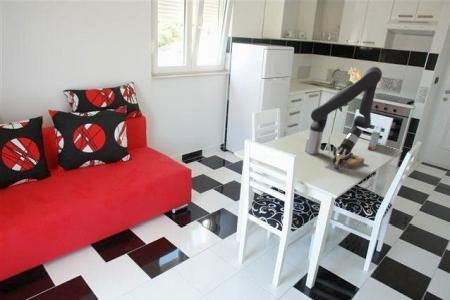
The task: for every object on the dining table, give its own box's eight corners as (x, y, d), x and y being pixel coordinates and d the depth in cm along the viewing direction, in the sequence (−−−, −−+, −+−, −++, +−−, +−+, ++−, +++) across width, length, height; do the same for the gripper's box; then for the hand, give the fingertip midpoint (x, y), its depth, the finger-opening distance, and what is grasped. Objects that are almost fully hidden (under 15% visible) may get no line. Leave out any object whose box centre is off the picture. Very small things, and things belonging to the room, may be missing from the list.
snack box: (374, 151, 244) (379, 132, 238) (367, 149, 246) (371, 131, 240) (377, 143, 261) (382, 126, 255) (370, 142, 263) (374, 124, 258)
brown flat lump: (334, 163, 215) (335, 158, 214) (347, 157, 227) (348, 153, 226) (350, 169, 207) (352, 164, 206) (363, 163, 219) (364, 158, 218)
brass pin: (333, 168, 206) (336, 153, 203) (335, 167, 208) (338, 153, 204) (337, 169, 204) (340, 155, 200) (339, 168, 206) (342, 154, 202)
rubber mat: (324, 167, 207) (324, 167, 207) (332, 164, 214) (332, 163, 213) (340, 174, 199) (341, 173, 199) (348, 170, 205) (348, 170, 205)
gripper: (338, 135, 209) (325, 156, 205) (358, 142, 199) (345, 164, 196) (340, 141, 214) (327, 162, 211) (360, 148, 205) (347, 169, 201)
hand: (336, 163), depth 203 cm, fingers closed on brass pin, 3 cm apart
